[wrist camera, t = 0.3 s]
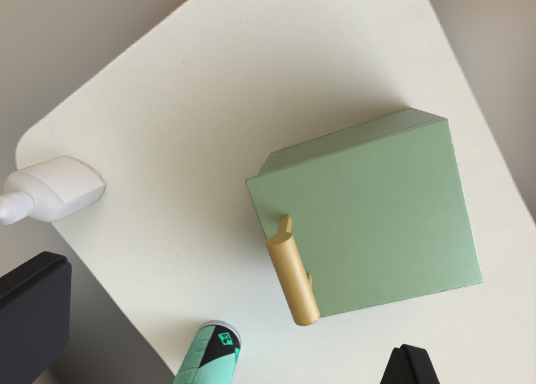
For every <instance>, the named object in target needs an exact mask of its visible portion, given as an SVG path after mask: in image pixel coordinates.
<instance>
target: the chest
mask: <svg viewBox="0 0 536 384" xmlns="http://www.w3.org/2000/svg"><path fill="white" fill-rule="evenodd" d="M440 118H443V117H440V116H437V115H434V114H431V113H427V112H424V111H421V110H417V109H414V108H409V109H406V110H403V111H400V112H397V113H393V114H390V115H387V116H384V117H381V118H378V119H375V120H372V121H369V122H366V123H362V124H359V125H356V126H353V127H350V128H347V129H344V130H341V131H338V132H334V133H331V134H328V135H325V136H322V137H319V138H316V139H313V140H310V141H306V142H303V143H300V144H297V145H294V146H291V147H288V148H285V149H282V150H279V151H275V152H272V153H271V154H270V155H269V157H268V159H267V160H266V162H265V163H264V165H263V167H262V168H261V170H260V171H259V173H258V174H257V175H259V174H263V173H266V172H269V171H272V170H276V169H279V168H282V167H285V166H288V165H292V164H295V163H298V162H301V161H305V160H308V159H311V158H314V157H317V156H321V155H324V154H327V153H330V152H333V151H337V150H340V149H343V148H346V147H350V146H353V145H356V144H359V143H362V142H366V141H369V140H372V139H375V138H379V137H382V136H385V135H388V134H391V133H395V132H398V131H401V130H404V129H407V128H411V127H414V126H417V125H420V124H424V123H427V122H430V121H433V120H436V119H440Z"/></svg>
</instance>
